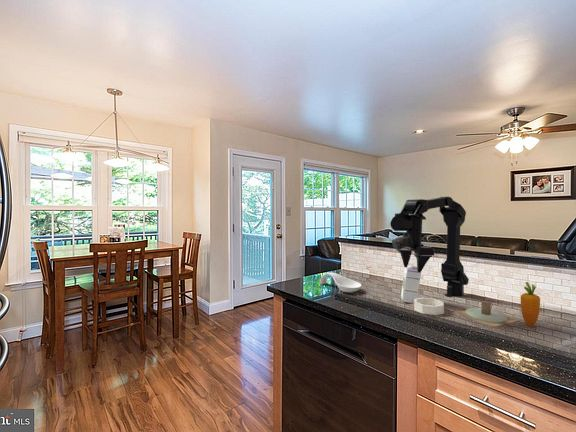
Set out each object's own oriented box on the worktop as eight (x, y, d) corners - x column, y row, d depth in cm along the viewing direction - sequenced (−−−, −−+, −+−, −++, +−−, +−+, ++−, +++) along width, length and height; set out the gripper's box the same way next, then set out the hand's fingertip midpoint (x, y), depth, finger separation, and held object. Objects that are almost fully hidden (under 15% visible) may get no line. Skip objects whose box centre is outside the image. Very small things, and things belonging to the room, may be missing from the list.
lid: (481, 308, 112) (481, 295, 111) (515, 319, 100) (515, 305, 100) (458, 313, 107) (458, 299, 107) (491, 325, 96) (491, 310, 96)
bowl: (428, 306, 118) (428, 296, 118) (449, 314, 109) (449, 304, 108) (408, 309, 114) (408, 299, 114) (429, 318, 105) (429, 307, 105)
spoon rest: (366, 291, 141) (366, 276, 141) (351, 296, 133) (351, 281, 133) (329, 282, 159) (329, 269, 159) (314, 286, 151) (313, 272, 151)
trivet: (480, 309, 113) (480, 307, 113) (520, 323, 100) (520, 320, 100) (454, 315, 108) (454, 312, 108) (492, 329, 95) (492, 326, 95)
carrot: (541, 333, 92) (541, 285, 91) (521, 329, 95) (521, 283, 94) (538, 327, 96) (538, 282, 96) (519, 324, 99) (519, 280, 98)
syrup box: (416, 304, 121) (422, 270, 119) (401, 301, 122) (407, 268, 120) (414, 299, 126) (419, 266, 125) (399, 296, 128) (405, 264, 126)
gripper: (383, 228, 125) (382, 264, 125) (408, 232, 106) (406, 275, 107) (407, 229, 127) (406, 264, 127) (436, 233, 108) (434, 275, 109)
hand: (412, 269), depth 118 cm, fingers open, 9 cm apart
